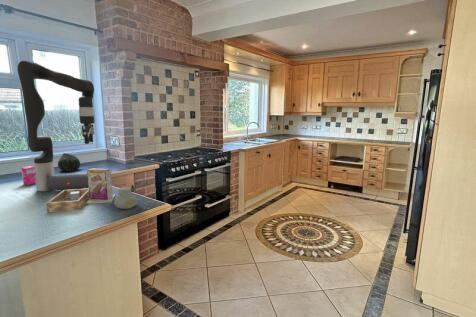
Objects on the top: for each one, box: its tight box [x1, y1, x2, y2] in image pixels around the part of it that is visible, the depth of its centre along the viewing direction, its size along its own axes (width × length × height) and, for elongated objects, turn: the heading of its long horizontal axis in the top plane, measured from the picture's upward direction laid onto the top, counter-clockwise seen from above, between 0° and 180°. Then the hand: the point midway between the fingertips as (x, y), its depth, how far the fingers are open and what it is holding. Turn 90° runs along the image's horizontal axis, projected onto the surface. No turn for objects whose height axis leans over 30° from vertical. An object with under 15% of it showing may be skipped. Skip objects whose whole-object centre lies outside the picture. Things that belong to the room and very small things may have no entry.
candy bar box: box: [86, 167, 114, 200], centre depth 144 cm, size 11×5×16 cm, turn 81°
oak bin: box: [45, 188, 90, 213], centre depth 139 cm, size 14×22×4 cm, turn 14°
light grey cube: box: [70, 191, 80, 201], centre depth 145 cm, size 4×4×4 cm
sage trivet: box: [86, 193, 116, 205], centre depth 145 cm, size 12×12×1 cm
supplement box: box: [20, 165, 36, 186], centre depth 173 cm, size 6×6×12 cm
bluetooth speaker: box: [47, 173, 89, 192], centre depth 160 cm, size 23×9×10 cm, turn 106°
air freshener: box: [113, 186, 138, 210], centre depth 134 cm, size 11×8×10 cm
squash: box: [57, 152, 81, 173], centre depth 212 cm, size 14×15×15 cm
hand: (89, 142), depth 156 cm, fingers open, 8 cm apart
